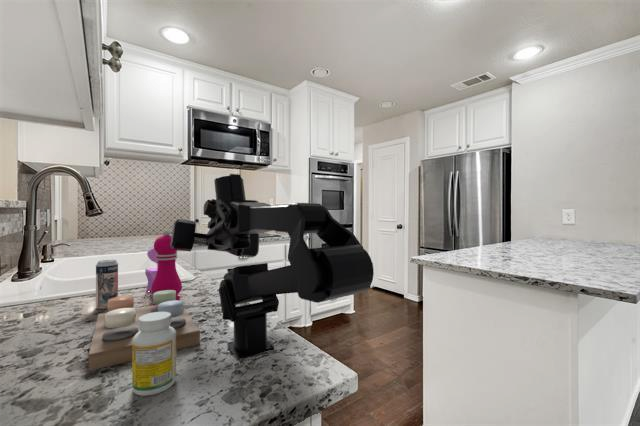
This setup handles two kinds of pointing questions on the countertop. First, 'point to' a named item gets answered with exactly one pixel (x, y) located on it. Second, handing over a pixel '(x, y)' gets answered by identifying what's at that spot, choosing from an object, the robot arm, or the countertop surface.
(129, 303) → the terracotta button
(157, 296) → the sage button
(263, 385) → the countertop surface
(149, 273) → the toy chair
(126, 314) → the cream button
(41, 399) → the countertop surface
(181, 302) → the slate blue button
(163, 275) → the pepper mill
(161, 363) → the supplement bottle
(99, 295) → the beer can
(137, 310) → the wooden button board
